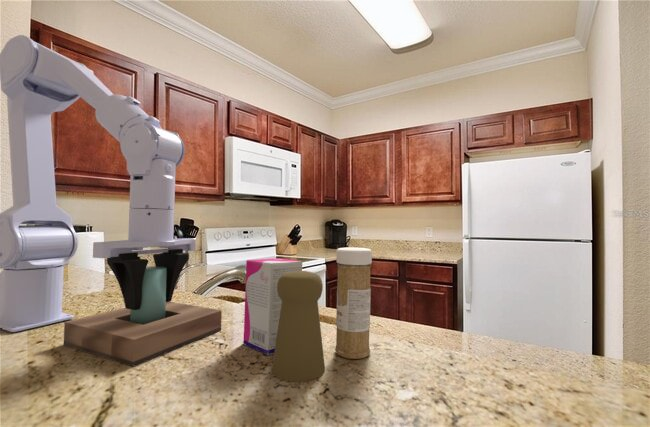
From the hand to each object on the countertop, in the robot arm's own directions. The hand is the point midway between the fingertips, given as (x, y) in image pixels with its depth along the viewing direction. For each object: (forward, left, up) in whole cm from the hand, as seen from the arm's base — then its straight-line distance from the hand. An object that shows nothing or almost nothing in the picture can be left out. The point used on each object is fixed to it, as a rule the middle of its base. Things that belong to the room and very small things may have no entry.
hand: (149, 304), depth 46 cm
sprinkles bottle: (+28, +8, -5) cm, 30 cm away
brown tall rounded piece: (+24, +1, -5) cm, 24 cm away
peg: (0, 0, -3) cm, 3 cm away
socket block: (0, 0, -5) cm, 5 cm away
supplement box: (+17, +6, -5) cm, 19 cm away
